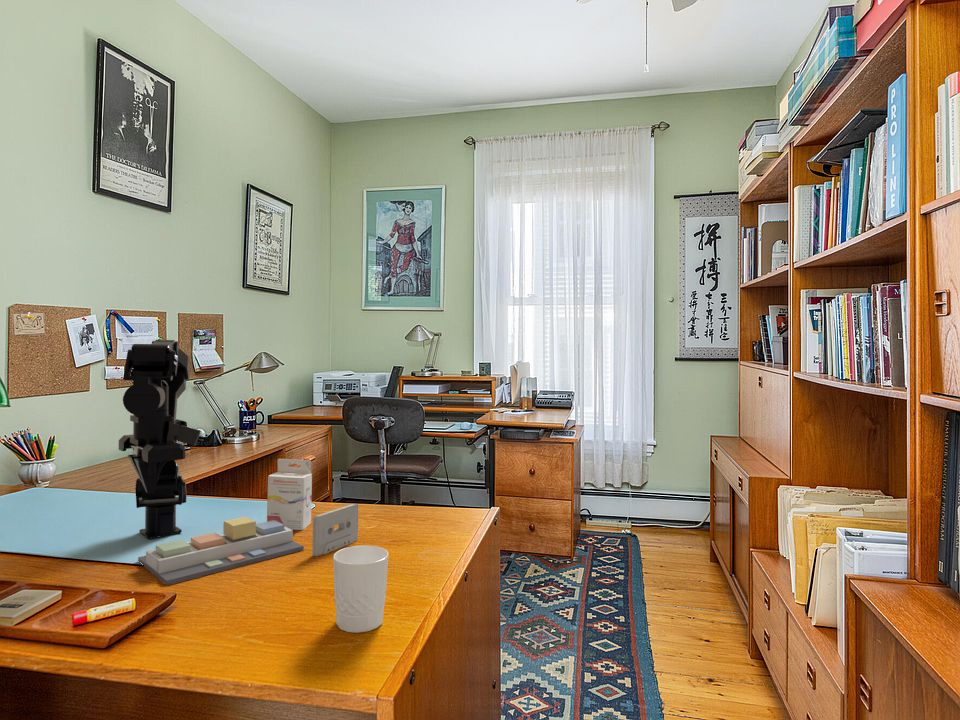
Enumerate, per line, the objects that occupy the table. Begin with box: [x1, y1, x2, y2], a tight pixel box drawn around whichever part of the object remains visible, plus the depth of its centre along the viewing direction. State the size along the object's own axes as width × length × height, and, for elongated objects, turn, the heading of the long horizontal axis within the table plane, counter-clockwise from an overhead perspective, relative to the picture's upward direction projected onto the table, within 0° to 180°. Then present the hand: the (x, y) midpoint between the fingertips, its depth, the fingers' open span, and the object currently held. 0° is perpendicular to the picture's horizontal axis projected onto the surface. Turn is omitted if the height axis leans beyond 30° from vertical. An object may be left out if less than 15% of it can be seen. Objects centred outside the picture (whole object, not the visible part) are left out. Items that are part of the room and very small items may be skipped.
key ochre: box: [222, 516, 257, 540], centre depth 112 cm, size 4×4×3 cm
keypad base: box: [137, 526, 304, 586], centre depth 110 cm, size 15×25×3 cm, turn 136°
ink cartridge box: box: [266, 458, 313, 531], centre depth 129 cm, size 9×5×15 cm, turn 84°
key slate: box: [256, 520, 284, 536], centre depth 117 cm, size 4×4×3 cm
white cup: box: [332, 545, 389, 634], centre depth 84 cm, size 8×8×10 cm
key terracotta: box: [190, 532, 225, 550], centre depth 108 cm, size 4×4×3 cm
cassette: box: [311, 503, 359, 557], centre depth 116 cm, size 12×2×8 cm, turn 150°
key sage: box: [155, 539, 191, 558], centre depth 104 cm, size 4×4×3 cm
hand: (150, 492), depth 109 cm, fingers closed
